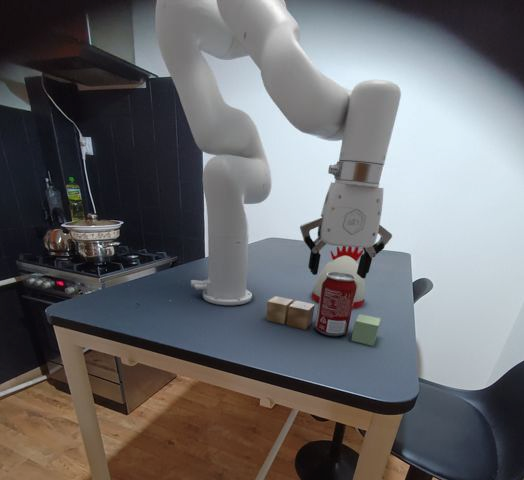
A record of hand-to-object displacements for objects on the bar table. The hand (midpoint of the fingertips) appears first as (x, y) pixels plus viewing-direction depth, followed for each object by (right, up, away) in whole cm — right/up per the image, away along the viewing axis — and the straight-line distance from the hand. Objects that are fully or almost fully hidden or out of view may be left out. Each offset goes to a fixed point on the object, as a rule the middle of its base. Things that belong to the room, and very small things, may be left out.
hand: (337, 274), depth 62 cm
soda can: (0, -11, +5) cm, 12 cm away
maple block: (-11, -8, +9) cm, 16 cm away
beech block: (-7, -9, +8) cm, 14 cm away
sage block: (+6, -13, +3) cm, 14 cm away
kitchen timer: (+6, -1, +25) cm, 26 cm away
